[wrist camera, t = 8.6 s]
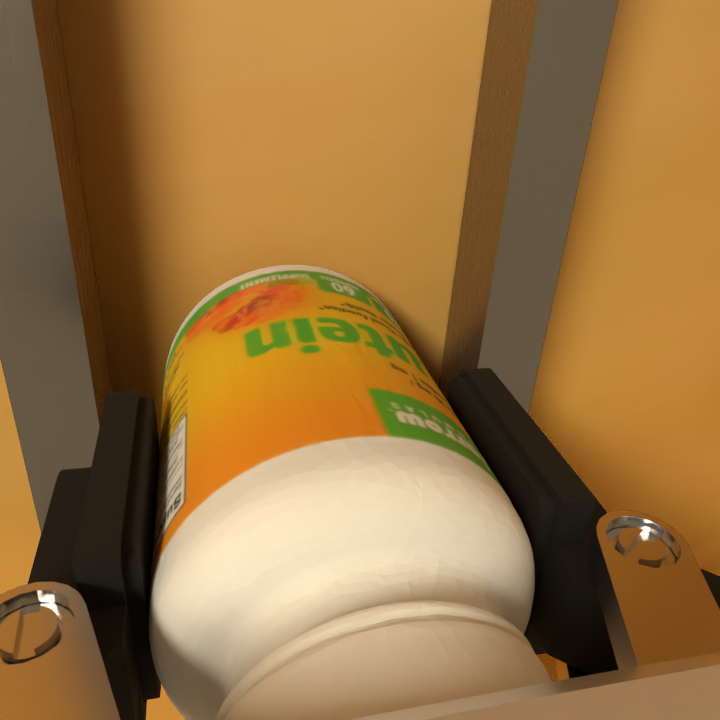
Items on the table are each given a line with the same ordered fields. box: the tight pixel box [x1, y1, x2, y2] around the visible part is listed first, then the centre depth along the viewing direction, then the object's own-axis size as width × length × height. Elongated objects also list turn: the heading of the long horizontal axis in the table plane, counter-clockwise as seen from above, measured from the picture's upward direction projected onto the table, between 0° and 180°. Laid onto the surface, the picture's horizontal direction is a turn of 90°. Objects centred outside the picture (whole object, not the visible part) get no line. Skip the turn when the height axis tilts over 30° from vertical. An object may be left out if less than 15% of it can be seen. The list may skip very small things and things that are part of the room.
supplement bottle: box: [149, 265, 552, 720], centre depth 11 cm, size 5×5×10 cm
